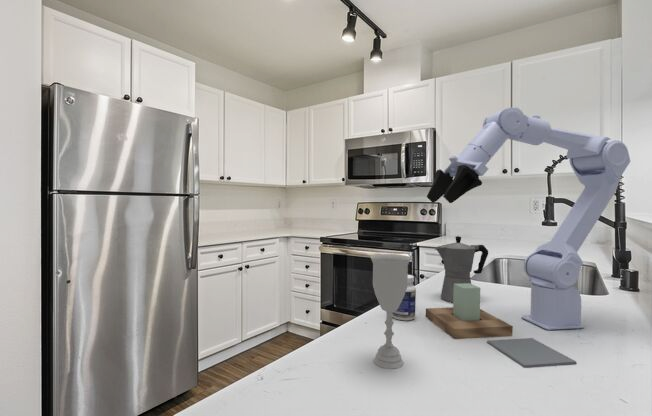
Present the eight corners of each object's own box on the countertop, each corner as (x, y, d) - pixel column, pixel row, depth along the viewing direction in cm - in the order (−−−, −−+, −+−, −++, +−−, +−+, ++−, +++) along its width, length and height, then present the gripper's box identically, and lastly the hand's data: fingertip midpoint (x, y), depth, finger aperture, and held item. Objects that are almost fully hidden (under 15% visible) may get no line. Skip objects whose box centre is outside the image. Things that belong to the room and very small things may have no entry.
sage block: (468, 322, 78) (469, 283, 77) (479, 328, 74) (480, 287, 73) (452, 322, 77) (453, 283, 77) (462, 329, 73) (463, 288, 73)
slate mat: (532, 340, 68) (532, 338, 68) (576, 363, 58) (576, 361, 58) (486, 342, 66) (487, 340, 66) (524, 367, 56) (524, 365, 56)
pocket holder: (475, 314, 83) (475, 306, 83) (512, 335, 70) (512, 326, 70) (425, 316, 81) (425, 308, 81) (454, 338, 68) (454, 328, 68)
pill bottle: (416, 322, 77) (416, 279, 77) (390, 320, 78) (391, 277, 78) (414, 314, 83) (415, 273, 82) (390, 312, 84) (391, 272, 84)
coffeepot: (440, 304, 90) (442, 237, 90) (428, 294, 100) (429, 234, 99) (496, 304, 91) (497, 238, 91) (478, 294, 101) (479, 234, 100)
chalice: (400, 376, 53) (402, 262, 53) (361, 364, 57) (363, 258, 56) (414, 358, 59) (416, 256, 59) (378, 348, 63) (380, 252, 62)
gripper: (448, 146, 81) (411, 188, 79) (485, 135, 66) (442, 186, 65) (468, 166, 81) (432, 208, 80) (509, 159, 67) (466, 210, 66)
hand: (438, 199), depth 73 cm, fingers open, 7 cm apart
